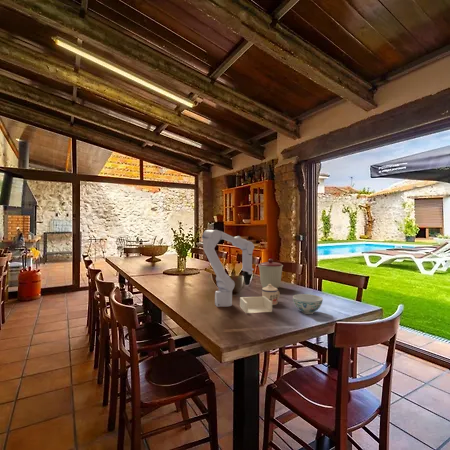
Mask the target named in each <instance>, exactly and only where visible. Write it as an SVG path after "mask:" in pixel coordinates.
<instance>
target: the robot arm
mask: <svg viewBox="0 0 450 450" xmlns="http://www.w3.org/2000/svg"><path fill="white" fill-rule="evenodd" d="M201 239H202V248H203V252H204V255H206V258H207V260H208V262H209V264H210V266H211V267H212V270H213V272H214V274H215V276H216V277H215V280H216V286H217V288H218V290H215V291H214V305H215V307H217V308H219V307H224V308H225V307H231V306H232V305H233V290H234V288H235V285H236V283H235V281H234V280H233V279H232V278H231V276H229V274H227V272H226V270H225V268H224V266H223V264H222V262H221V260H220V258H219V256H218V254H217V252H216V250H215V248H216V246H217V245H218V244H219V242H220V241H222V240H224V241H226V242H229V243H231V245H232V247H233V246H234V247H236V248H238V249H240V250H241V251H242V253H241V256H242V257H241V258H242V262H241V265H242V268H241V271H243V272H241V274H242V277H243V282H244V284H245V285H246V286H249V285H250V284H251V279H252V276H253V274H254V273H253V271H254V270H255V269H254V268H253V253H254V249H255V245H254V242H253V241H250V240H247V239H246V238H242V237H241V236H240V235H237V236H233V235H230V234H228V233H226V232H224V231H222V230H218V229H206V230H204V232H203V233H202V236H201Z"/></svg>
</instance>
